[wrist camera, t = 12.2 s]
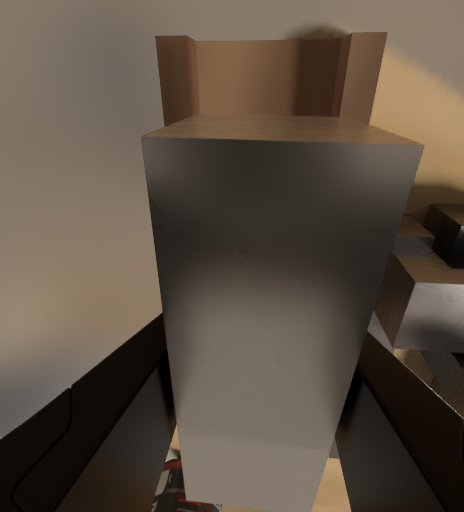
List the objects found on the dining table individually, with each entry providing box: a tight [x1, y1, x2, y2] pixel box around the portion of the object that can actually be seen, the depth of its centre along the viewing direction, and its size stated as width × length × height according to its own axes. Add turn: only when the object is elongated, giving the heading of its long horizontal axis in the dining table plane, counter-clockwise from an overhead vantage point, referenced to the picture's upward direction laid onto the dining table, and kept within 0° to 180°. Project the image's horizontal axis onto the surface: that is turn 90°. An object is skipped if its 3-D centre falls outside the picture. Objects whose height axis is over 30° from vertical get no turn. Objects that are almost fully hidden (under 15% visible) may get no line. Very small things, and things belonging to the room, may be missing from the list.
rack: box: [155, 32, 387, 127], centre depth 13 cm, size 7×13×2 cm, turn 0°
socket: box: [329, 214, 464, 459], centre depth 15 cm, size 8×16×5 cm, turn 0°
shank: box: [141, 114, 425, 512], centre depth 7 cm, size 3×9×4 cm, turn 179°
